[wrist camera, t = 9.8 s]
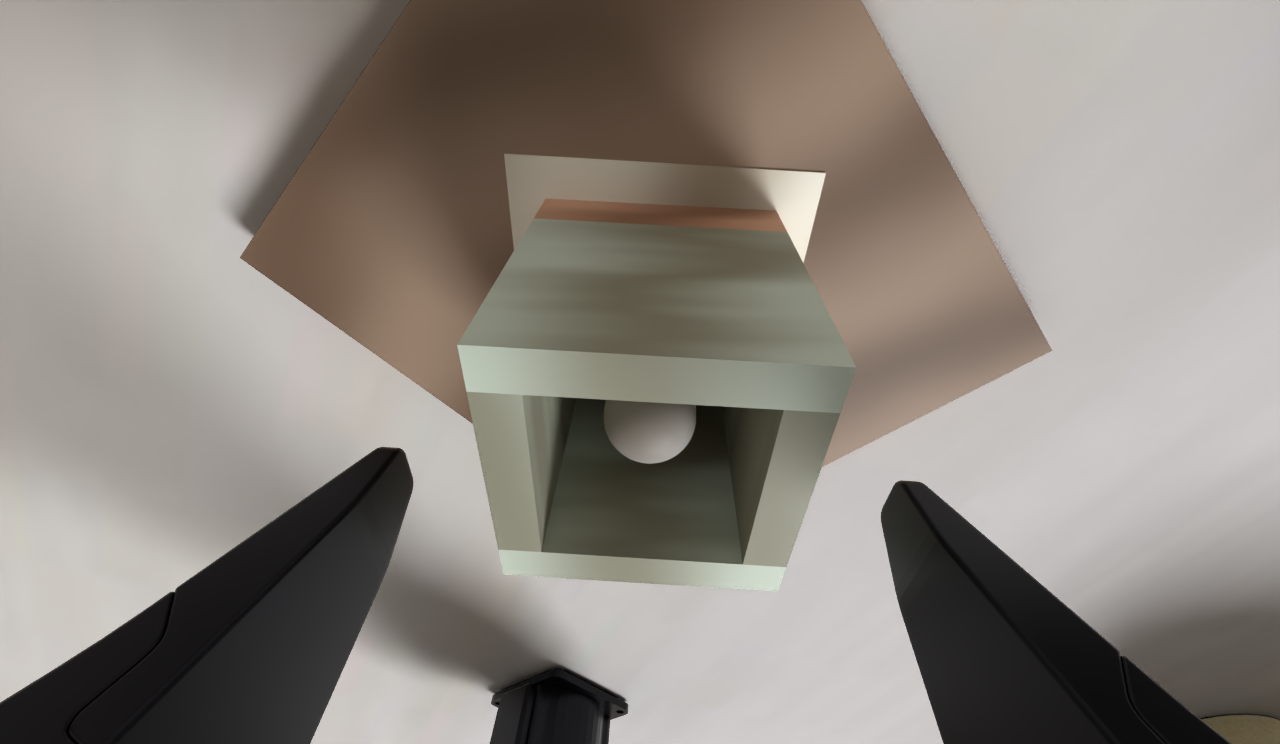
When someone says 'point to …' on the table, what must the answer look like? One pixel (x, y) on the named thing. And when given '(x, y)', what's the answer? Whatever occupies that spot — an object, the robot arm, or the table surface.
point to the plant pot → (1246, 728)
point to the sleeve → (653, 393)
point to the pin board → (647, 187)
